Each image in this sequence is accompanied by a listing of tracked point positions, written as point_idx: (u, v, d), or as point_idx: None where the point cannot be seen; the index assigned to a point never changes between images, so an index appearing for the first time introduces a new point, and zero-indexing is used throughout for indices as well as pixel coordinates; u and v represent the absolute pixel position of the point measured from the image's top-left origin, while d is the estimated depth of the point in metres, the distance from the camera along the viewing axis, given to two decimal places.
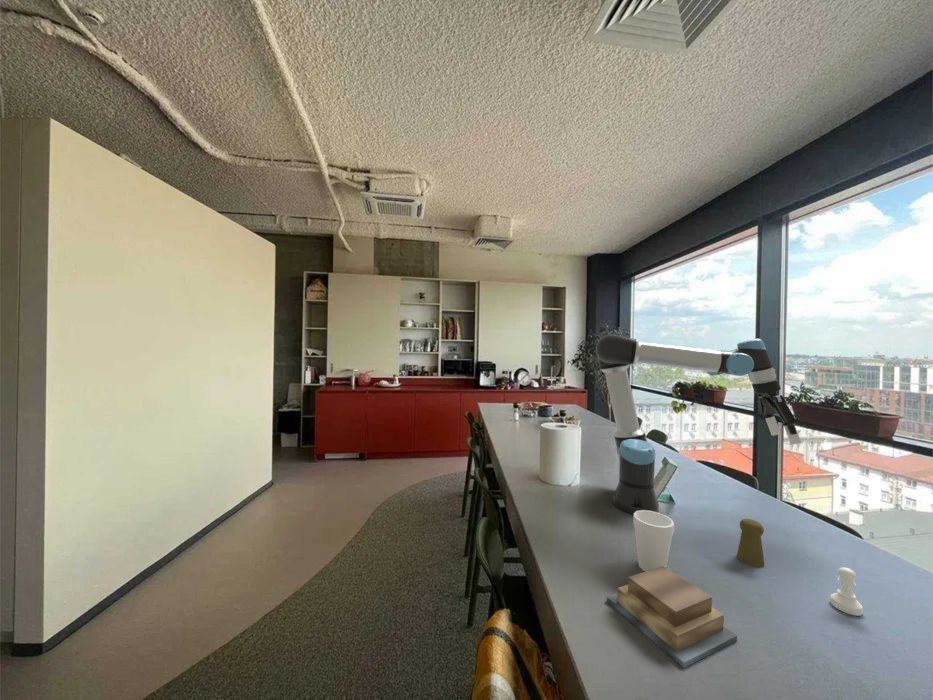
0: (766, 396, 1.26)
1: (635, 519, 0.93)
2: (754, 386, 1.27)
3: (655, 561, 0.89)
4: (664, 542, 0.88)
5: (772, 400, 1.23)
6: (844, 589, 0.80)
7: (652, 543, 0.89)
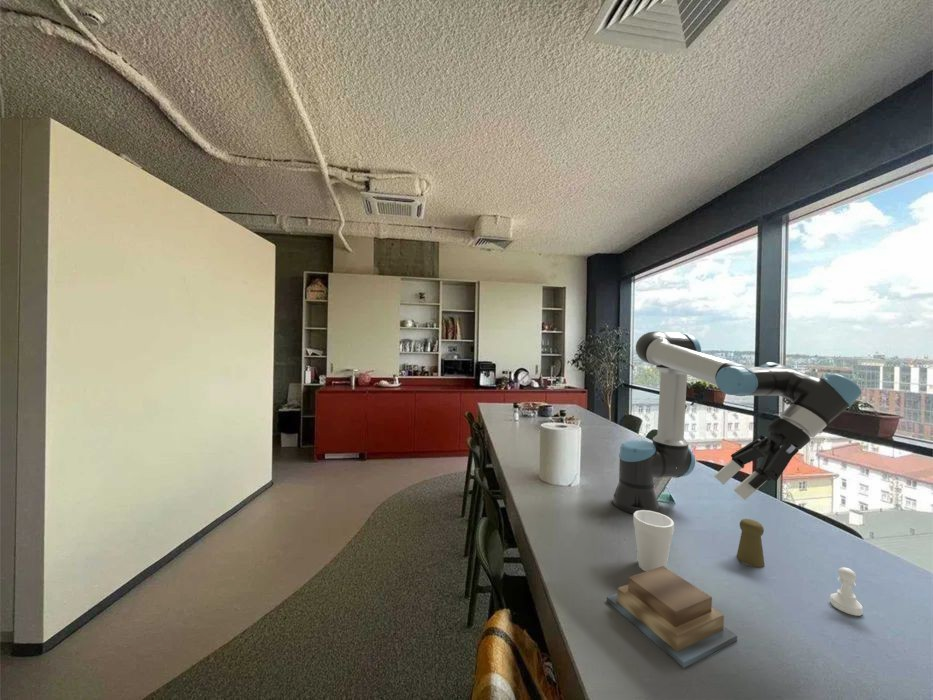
0: (773, 440, 0.86)
1: (635, 519, 0.93)
2: (779, 420, 0.86)
3: (655, 561, 0.89)
4: (664, 542, 0.88)
5: (777, 446, 0.83)
6: (844, 589, 0.80)
7: (652, 543, 0.89)
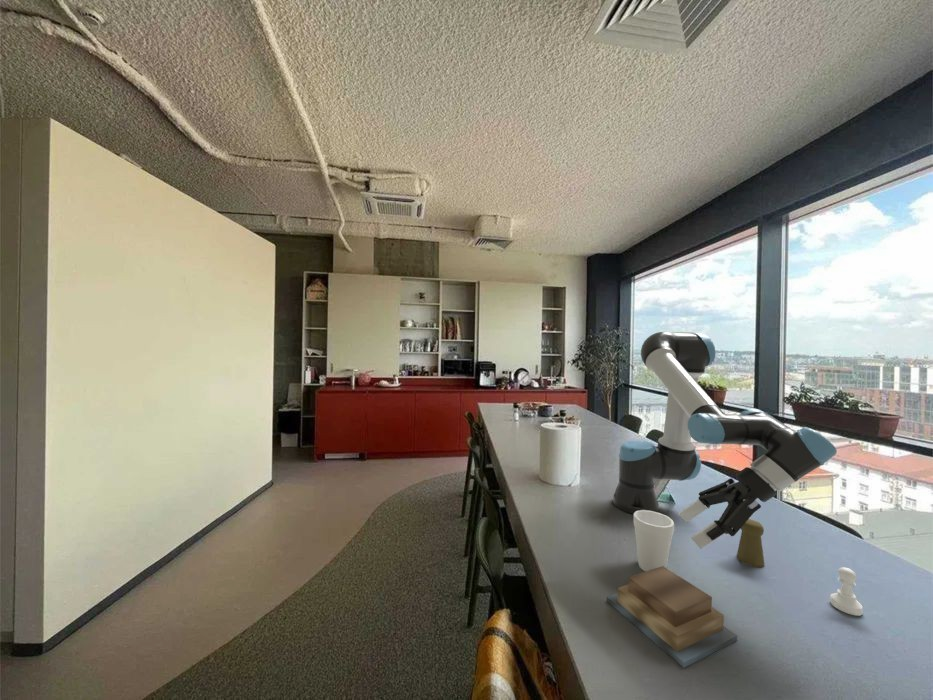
0: (740, 489, 0.85)
1: (635, 519, 0.93)
2: (748, 470, 0.84)
3: (655, 561, 0.89)
4: (664, 542, 0.88)
5: (741, 498, 0.82)
6: (844, 589, 0.80)
7: (652, 543, 0.89)
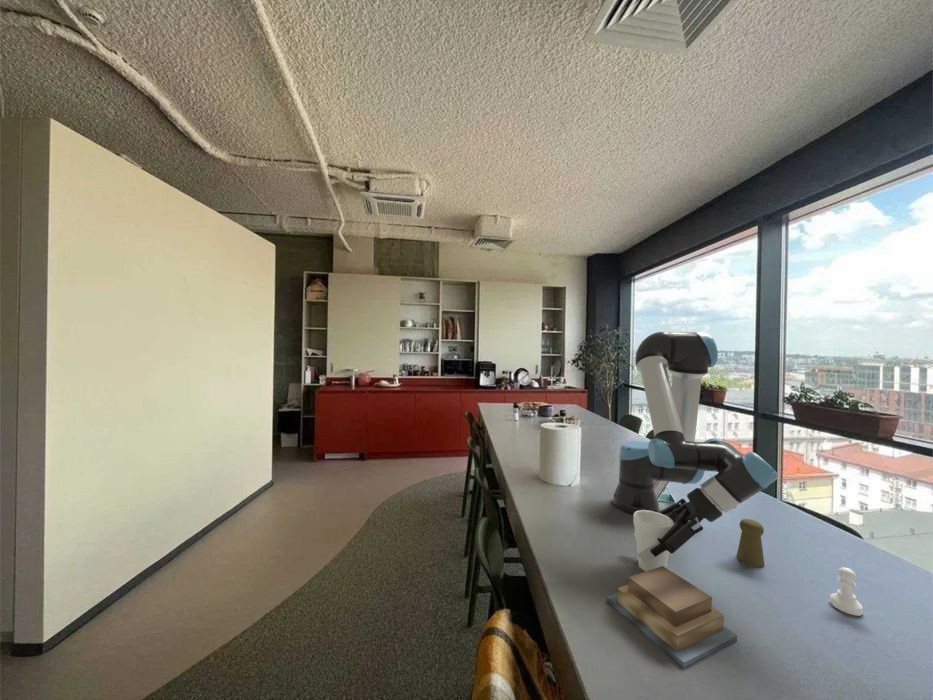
0: (689, 509, 0.89)
1: (635, 519, 0.93)
2: (697, 491, 0.88)
3: (655, 561, 0.89)
4: None
5: (689, 517, 0.87)
6: (844, 589, 0.80)
7: None
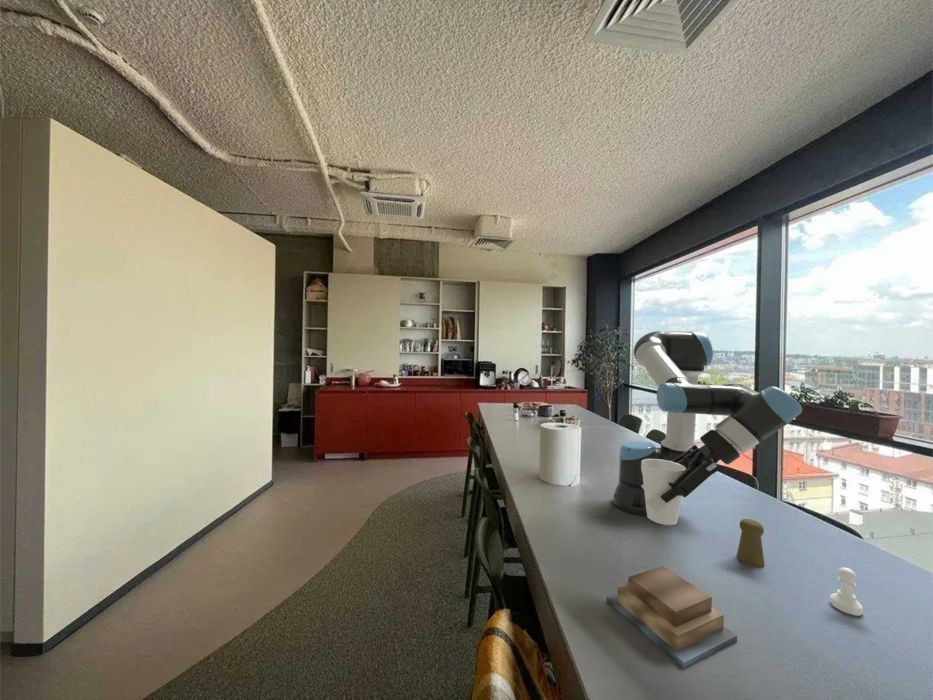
0: (703, 452, 0.81)
1: (643, 466, 0.85)
2: (711, 432, 0.80)
3: (666, 509, 0.81)
4: None
5: (704, 459, 0.79)
6: (844, 589, 0.80)
7: None
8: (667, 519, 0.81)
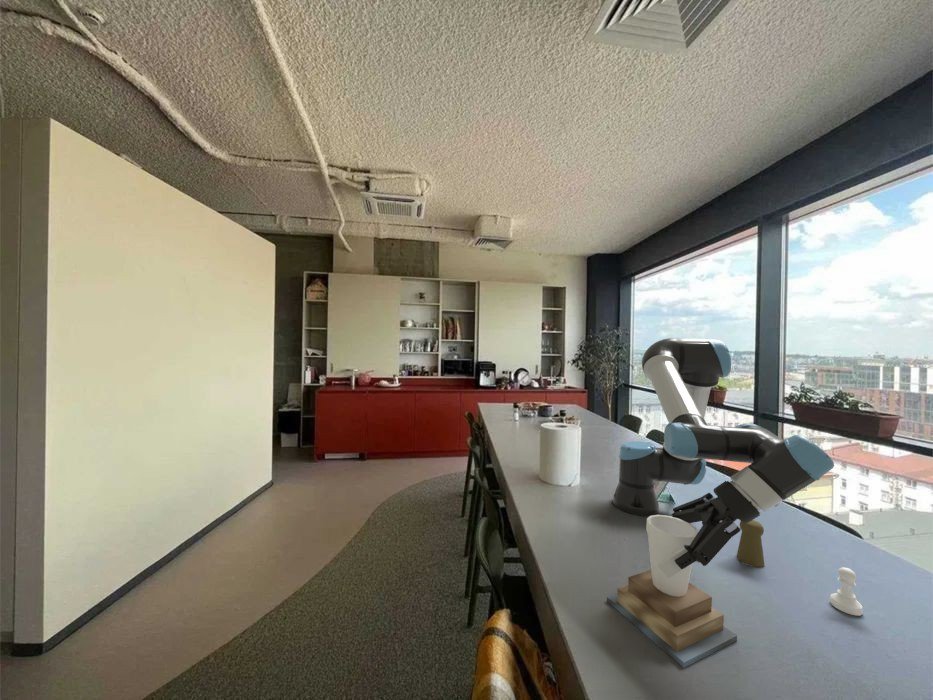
0: (717, 507, 0.71)
1: (649, 526, 0.75)
2: (727, 485, 0.70)
3: (674, 579, 0.71)
4: None
5: (718, 518, 0.68)
6: (844, 589, 0.80)
7: None
8: (675, 590, 0.71)
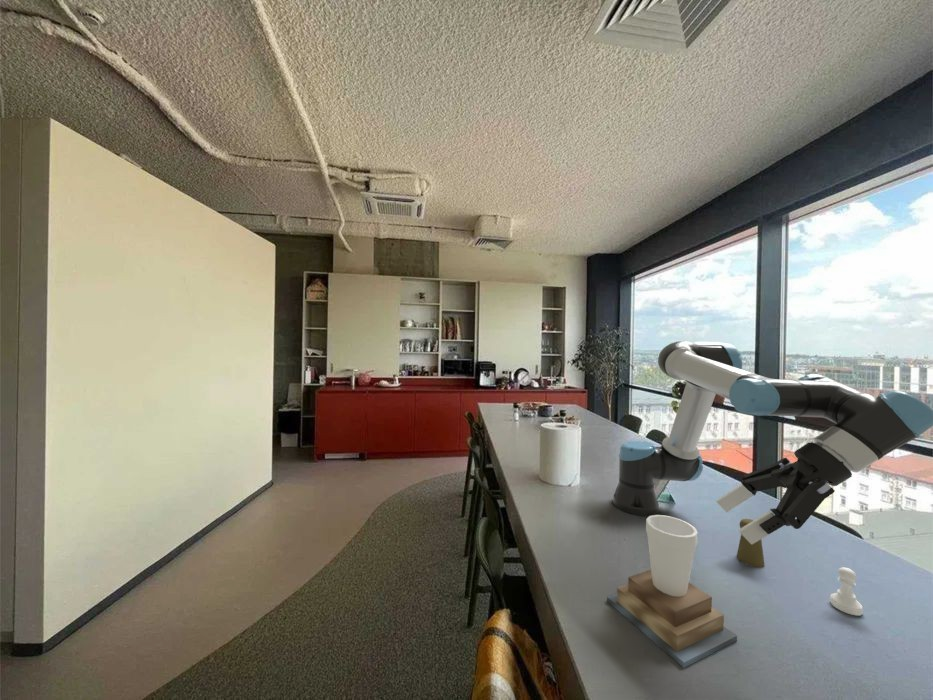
0: (801, 470, 0.66)
1: (648, 526, 0.75)
2: (812, 446, 0.65)
3: (674, 579, 0.71)
4: (685, 556, 0.70)
5: (805, 480, 0.64)
6: (844, 589, 0.80)
7: (670, 557, 0.71)
8: (675, 590, 0.71)
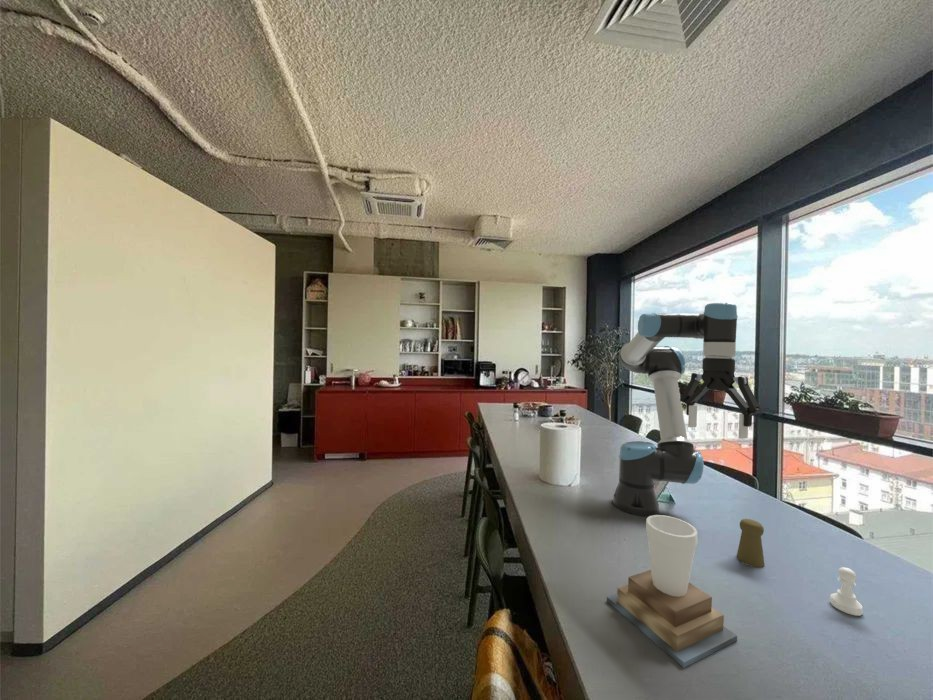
0: (717, 376, 0.99)
1: (648, 526, 0.75)
2: (714, 361, 0.97)
3: (674, 579, 0.71)
4: (685, 556, 0.70)
5: (730, 382, 0.96)
6: (844, 589, 0.80)
7: (670, 557, 0.71)
8: (675, 590, 0.71)
